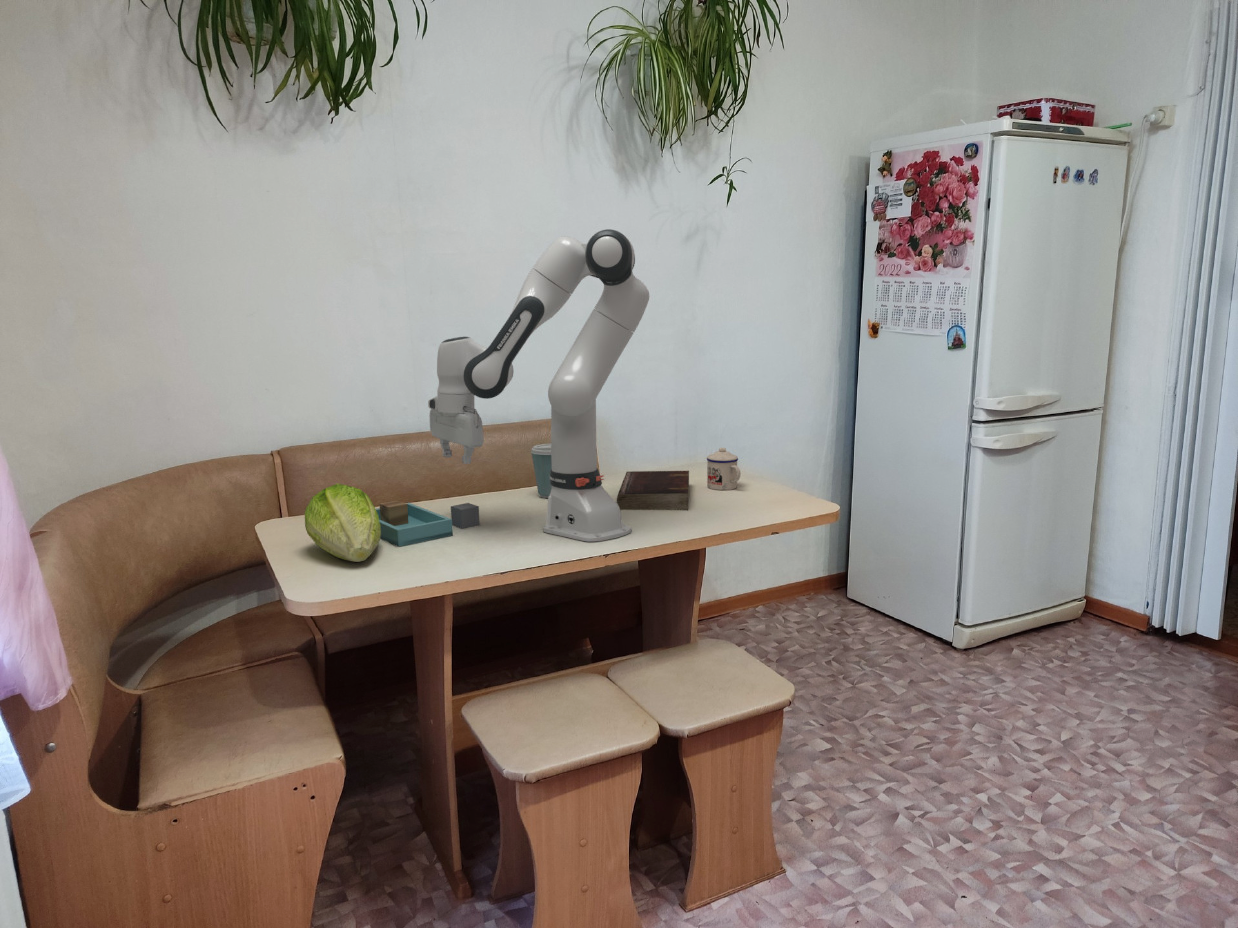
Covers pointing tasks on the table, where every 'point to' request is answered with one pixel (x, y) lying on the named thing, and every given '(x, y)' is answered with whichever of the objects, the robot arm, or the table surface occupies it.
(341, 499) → the lettuce
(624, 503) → the hardback book
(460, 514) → the charcoal block
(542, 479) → the disposable coffee cup
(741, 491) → the table surface
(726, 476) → the teacup with lid
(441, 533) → the teal tray
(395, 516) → the walnut block
